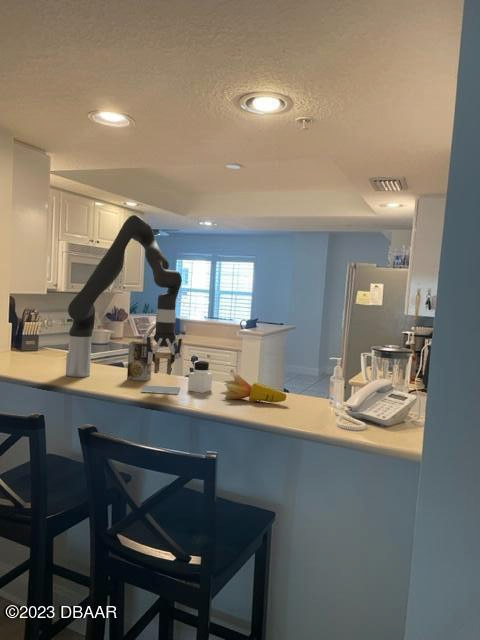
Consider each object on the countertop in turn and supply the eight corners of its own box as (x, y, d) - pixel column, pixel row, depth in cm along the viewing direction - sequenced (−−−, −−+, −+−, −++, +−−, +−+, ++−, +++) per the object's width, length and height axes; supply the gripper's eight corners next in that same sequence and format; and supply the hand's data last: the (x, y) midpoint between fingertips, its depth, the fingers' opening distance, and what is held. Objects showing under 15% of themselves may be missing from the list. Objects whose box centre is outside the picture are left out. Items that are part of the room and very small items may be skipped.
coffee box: (151, 378, 201) (153, 342, 200) (146, 381, 195) (149, 344, 194) (131, 376, 202) (133, 340, 201) (126, 379, 195) (128, 342, 194)
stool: (156, 370, 182) (157, 350, 181) (171, 371, 182) (172, 351, 181) (154, 373, 176) (155, 352, 175) (169, 374, 176) (170, 353, 175)
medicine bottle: (211, 390, 186) (213, 361, 185) (202, 393, 179) (204, 363, 178) (196, 387, 189) (198, 359, 188) (187, 390, 182) (189, 361, 181)
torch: (282, 415, 168) (218, 399, 173) (286, 401, 175) (224, 386, 180) (285, 399, 164) (219, 382, 169) (289, 385, 170) (225, 370, 175)
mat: (140, 392, 173) (140, 391, 172) (145, 386, 184) (145, 384, 184) (177, 394, 173) (177, 393, 173) (180, 388, 185) (180, 387, 185)
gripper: (184, 321, 182) (182, 363, 183) (148, 319, 181) (146, 360, 182) (183, 322, 174) (180, 366, 175) (145, 320, 173) (143, 363, 174)
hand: (163, 363), depth 179 cm, fingers closed on stool, 6 cm apart
